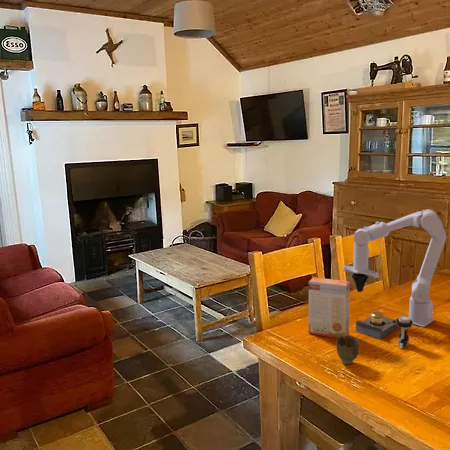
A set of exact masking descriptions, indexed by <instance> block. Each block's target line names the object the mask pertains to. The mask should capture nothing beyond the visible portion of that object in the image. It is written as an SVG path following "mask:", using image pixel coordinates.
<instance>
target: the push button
mask: <svg viewBox="0 0 450 450" xmlns="http://www.w3.org/2000/svg"><path fill="white" fill-rule="evenodd" d="M395 320H396V322H397V325H398V326H399V328H400V332H399V334H398V347H399V348H400V349H402V348H405V347H406V346H409V342H410V341H409V337H410V336H409V335H408V329H409V328H411V327H412V325H413V324H412V323H413V321H412V320H410V318H409V316H405V315H401V316H399V317H397V318H396V319H395Z"/></svg>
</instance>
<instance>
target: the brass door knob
mask: <svg viewBox="0 0 450 450" xmlns="http://www.w3.org/2000/svg"><path fill="white" fill-rule="evenodd" d="M371 316H372V319H371V324H372V325H375V326H382V322H383V317H385V315H384V313H382V312H380V311H379V312H378V311H372V312H371V313H370V317H371Z"/></svg>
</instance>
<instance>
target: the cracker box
mask: <svg viewBox="0 0 450 450" xmlns="http://www.w3.org/2000/svg"><path fill="white" fill-rule="evenodd" d="M350 282H351V281H349V280H348V281H347V280H341V279H340V280H339V279H331V278H322V277H315V276H314V277H312V278H311V279H310V280H309V281H308V334H310V335H316V336H317V335H318V336H322V337H328V338H333V339H337V338H338V337H339V338H340V336H343V337H344V338H345V336H347V337H349V336H350V335H349V334H350V299H351V298H350V291H351V290H350V289H351V287H350V285H351V283H350Z"/></svg>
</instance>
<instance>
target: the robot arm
mask: <svg viewBox="0 0 450 450" xmlns="http://www.w3.org/2000/svg"><path fill="white" fill-rule="evenodd" d="M409 226H413V227H416V228H420V226H421V228H423V229H424V230H425V231H426V232H428V234H429V236H430V237H431V239H430V241H429V244H428V247H427V249H426V253H425V256H424V259H423V262H422V264H421V268H420V271H419V273H418V275H417V277H416V279H415V281H413V282H412V283H411V285H410V287H411V288H410V289H411V296H409V307H408V317H409V318H410V320H412V321H413V323H412V325H416V326H418V327H422V328H425V327H426V326H428V325H429V324H431V323H433V322H434V321H435V318H433V310H434V309H433V307H434V303H433V301H432V300H431V299H430V297H431V296H430V288H431V284H432V279H433V276H434V273H435V270H436V268H437V265H438V263H439V259H440V257H441V254H442V252H443V249H444V245H445V242H446V239H447V233H446V231H445V228H444V225H443V223H442V219H441V218H440V215H438V214H437V213H436V212H435V210H433V209H429V208H427V209H423V210H421V211H416V212H413V213H410V214H408V215H405V216H403V217H399V218H398V219H397V218H396V219H394V220H392V221H390V222H387V223H386V222H384V221H381V222H379V220H378V221H376V222H375V224H372V225H369V226H363V228H358V229H357V230H356V231H355V232H354V235H353V242H354V243H353V262H352V265H353V266H351V265H344V266H343V271H344V272H348V273H349V272H350V273H353V274H352V275H351V278H352V279H353V281H354V284H355V286H356V291H357V293H361V292H363V291H364V289H365V285H366V282H367V281H368V279H369V277H371V278H374V279H378V278H379V272H377V271H374V270H373V269H372V270H371V269H369V255H370V254H369V252H370V248H369V242H373V241H376V240H379V239H382V238H384V237H387V236H388V235H389V234H390V232H392V231H396V230H398V229H402V228H405V227H409Z"/></svg>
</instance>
